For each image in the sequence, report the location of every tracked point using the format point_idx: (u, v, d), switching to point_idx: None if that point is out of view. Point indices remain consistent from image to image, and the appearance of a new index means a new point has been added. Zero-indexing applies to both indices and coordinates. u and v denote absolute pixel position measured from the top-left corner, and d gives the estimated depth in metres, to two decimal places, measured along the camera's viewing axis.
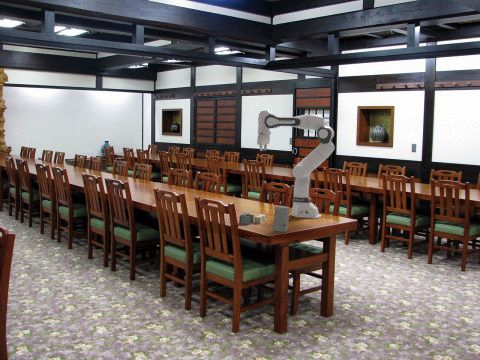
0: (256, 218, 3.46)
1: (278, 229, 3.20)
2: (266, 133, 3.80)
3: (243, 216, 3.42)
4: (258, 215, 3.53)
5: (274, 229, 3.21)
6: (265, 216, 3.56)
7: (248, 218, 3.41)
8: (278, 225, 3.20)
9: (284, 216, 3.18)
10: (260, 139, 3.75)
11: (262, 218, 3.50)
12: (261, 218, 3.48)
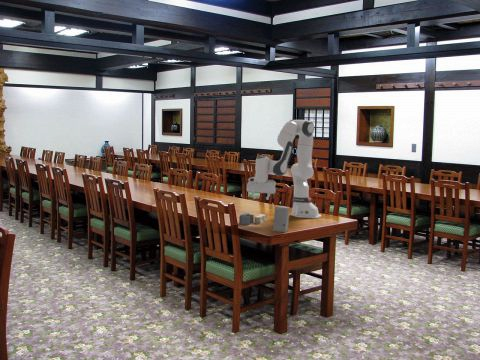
0: (256, 218, 3.46)
1: (278, 229, 3.20)
2: None
3: (243, 216, 3.42)
4: (258, 215, 3.53)
5: (274, 229, 3.21)
6: (265, 216, 3.56)
7: (248, 218, 3.41)
8: (278, 225, 3.20)
9: (284, 216, 3.18)
10: None
11: (262, 218, 3.50)
12: (261, 218, 3.48)
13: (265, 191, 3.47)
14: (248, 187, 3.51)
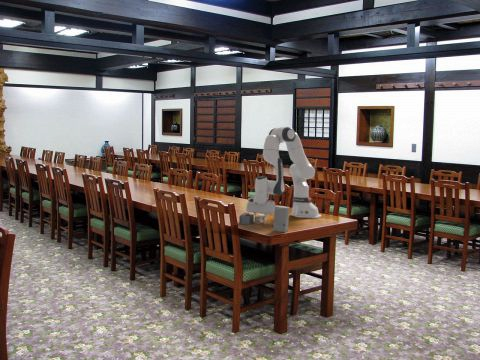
0: (256, 218, 3.46)
1: (278, 229, 3.20)
2: None
3: (243, 216, 3.42)
4: (258, 215, 3.53)
5: (274, 229, 3.21)
6: None
7: (248, 218, 3.41)
8: (278, 225, 3.20)
9: (284, 216, 3.18)
10: (274, 207, 3.49)
11: (262, 218, 3.50)
12: (261, 217, 3.48)
13: (265, 211, 3.49)
14: (248, 207, 3.52)
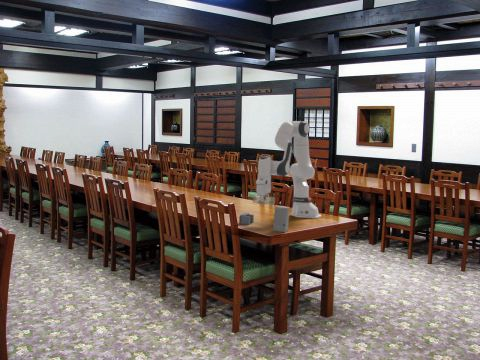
0: (273, 198, 3.37)
1: (278, 229, 3.20)
2: None
3: (243, 216, 3.42)
4: None
5: (274, 229, 3.21)
6: None
7: (248, 218, 3.41)
8: (278, 225, 3.20)
9: (284, 216, 3.18)
10: None
11: None
12: None
13: (268, 191, 3.43)
14: (262, 191, 3.31)
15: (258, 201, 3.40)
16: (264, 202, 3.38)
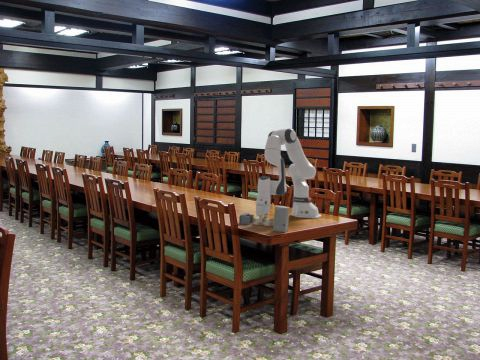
0: (273, 220, 3.39)
1: (278, 229, 3.20)
2: None
3: (243, 216, 3.42)
4: (262, 218, 3.40)
5: (274, 229, 3.21)
6: None
7: (248, 218, 3.41)
8: (278, 225, 3.20)
9: (284, 216, 3.18)
10: None
11: None
12: None
13: (267, 211, 3.44)
14: (262, 211, 3.32)
15: (258, 222, 3.41)
16: (263, 224, 3.40)
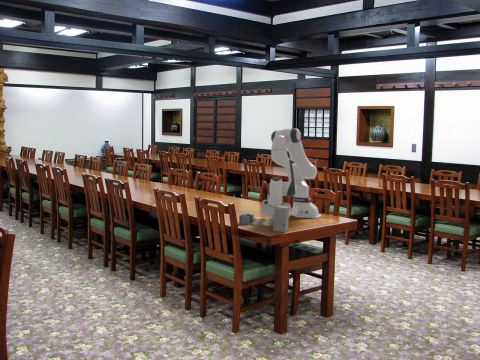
0: (272, 220, 3.39)
1: (278, 229, 3.20)
2: None
3: (243, 216, 3.42)
4: (261, 218, 3.40)
5: (274, 229, 3.21)
6: None
7: (248, 218, 3.41)
8: (278, 225, 3.20)
9: (284, 216, 3.18)
10: None
11: None
12: None
13: None
14: (262, 210, 3.39)
15: (257, 222, 3.41)
16: (263, 223, 3.40)
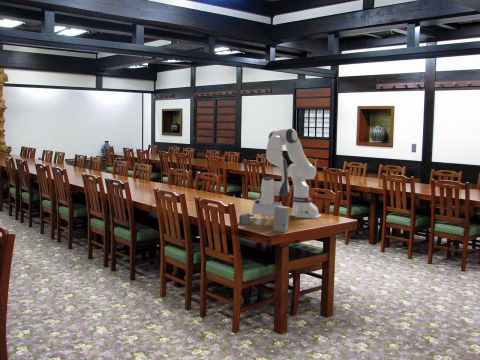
0: None
1: (278, 229, 3.20)
2: None
3: (243, 216, 3.42)
4: (253, 218, 3.42)
5: (274, 229, 3.21)
6: None
7: (248, 218, 3.41)
8: (278, 225, 3.20)
9: (284, 216, 3.18)
10: None
11: None
12: None
13: (271, 213, 3.37)
14: (254, 209, 3.41)
15: None
16: (255, 223, 3.42)
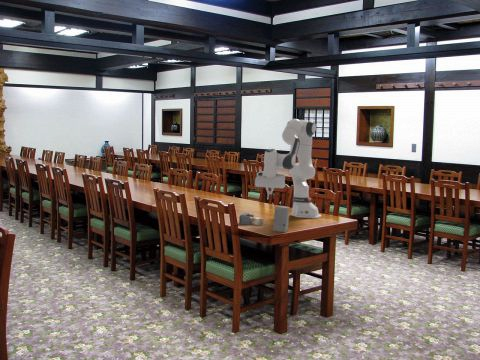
0: (262, 219, 3.41)
1: (278, 229, 3.20)
2: None
3: (243, 216, 3.42)
4: (251, 218, 3.43)
5: (274, 229, 3.21)
6: None
7: (248, 218, 3.41)
8: (278, 225, 3.20)
9: (284, 216, 3.18)
10: (284, 182, 3.35)
11: None
12: None
13: (274, 186, 3.35)
14: (256, 182, 3.39)
15: None
16: (253, 223, 3.42)
